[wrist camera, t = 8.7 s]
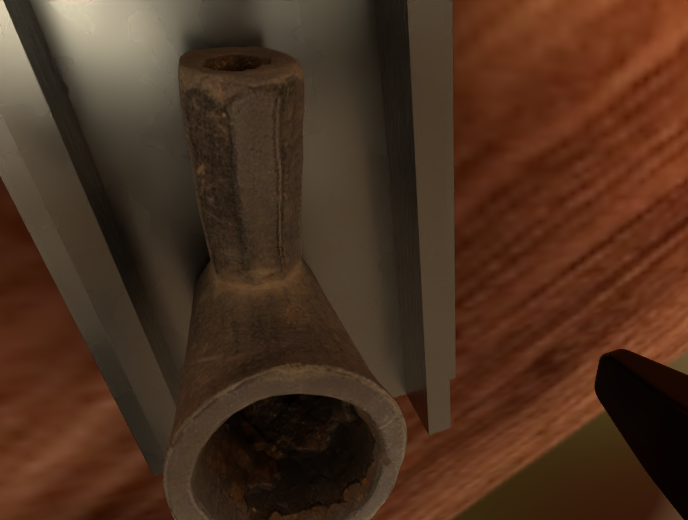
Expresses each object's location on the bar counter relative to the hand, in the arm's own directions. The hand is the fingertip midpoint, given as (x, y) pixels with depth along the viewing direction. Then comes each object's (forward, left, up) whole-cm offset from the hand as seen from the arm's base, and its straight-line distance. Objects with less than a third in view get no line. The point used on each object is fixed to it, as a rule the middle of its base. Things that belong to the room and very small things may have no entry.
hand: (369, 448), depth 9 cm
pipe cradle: (-1, 0, -12) cm, 12 cm away
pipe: (-2, +1, -11) cm, 11 cm away
